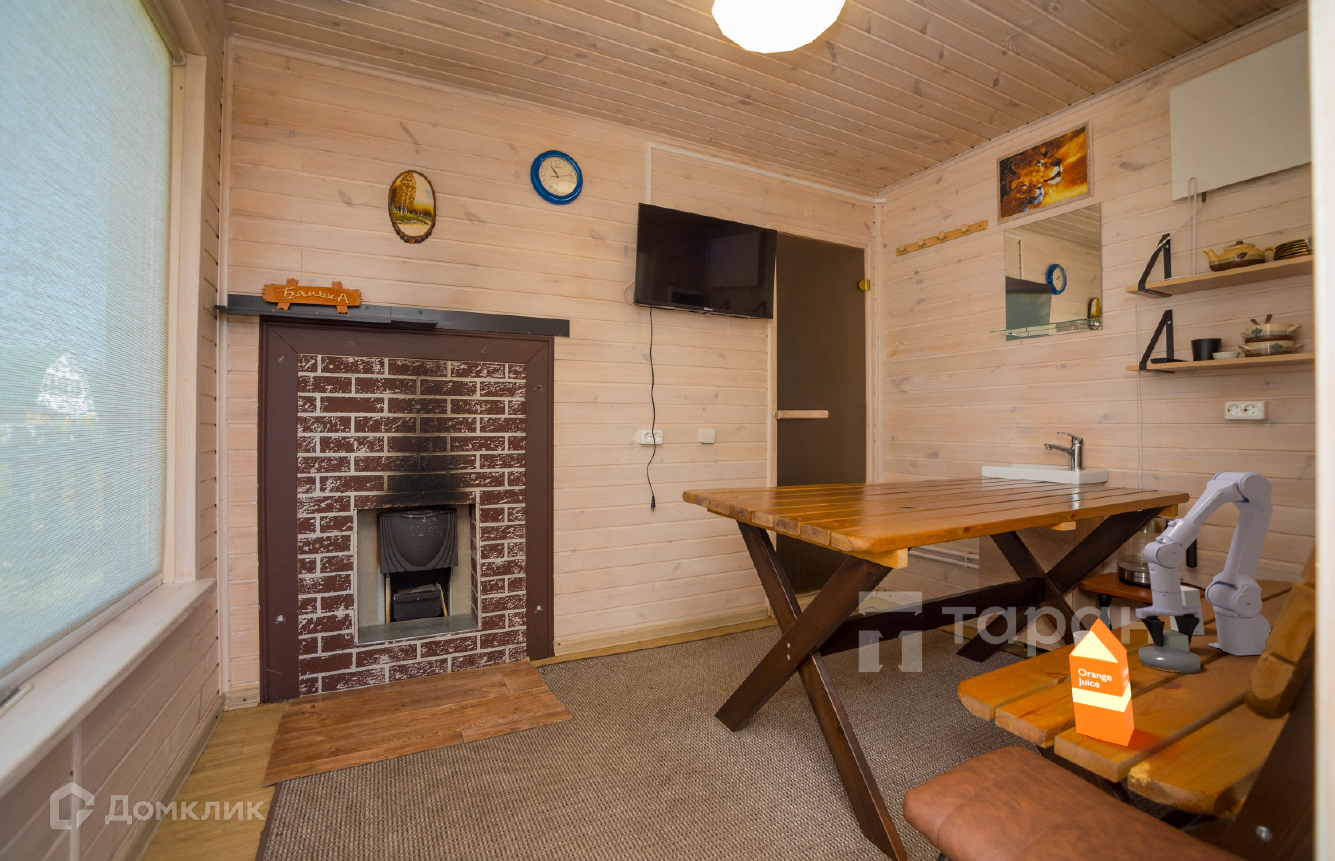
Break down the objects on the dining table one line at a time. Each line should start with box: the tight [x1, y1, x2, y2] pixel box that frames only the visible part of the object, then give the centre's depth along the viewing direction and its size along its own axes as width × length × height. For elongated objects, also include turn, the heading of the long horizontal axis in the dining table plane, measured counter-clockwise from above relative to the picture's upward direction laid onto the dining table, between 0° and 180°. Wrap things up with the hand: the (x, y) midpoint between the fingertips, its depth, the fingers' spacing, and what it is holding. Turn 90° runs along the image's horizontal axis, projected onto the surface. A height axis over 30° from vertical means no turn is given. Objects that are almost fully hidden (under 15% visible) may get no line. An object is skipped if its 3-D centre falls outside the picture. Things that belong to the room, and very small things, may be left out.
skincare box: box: [1169, 584, 1205, 636], centre depth 158 cm, size 6×4×12 cm
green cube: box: [1163, 629, 1190, 652], centre depth 145 cm, size 4×4×4 cm
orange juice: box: [1068, 617, 1135, 747], centre depth 109 cm, size 8×9×20 cm
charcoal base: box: [1138, 645, 1202, 674], centre depth 137 cm, size 11×11×2 cm
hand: (1172, 645), depth 145 cm, fingers open, 6 cm apart
